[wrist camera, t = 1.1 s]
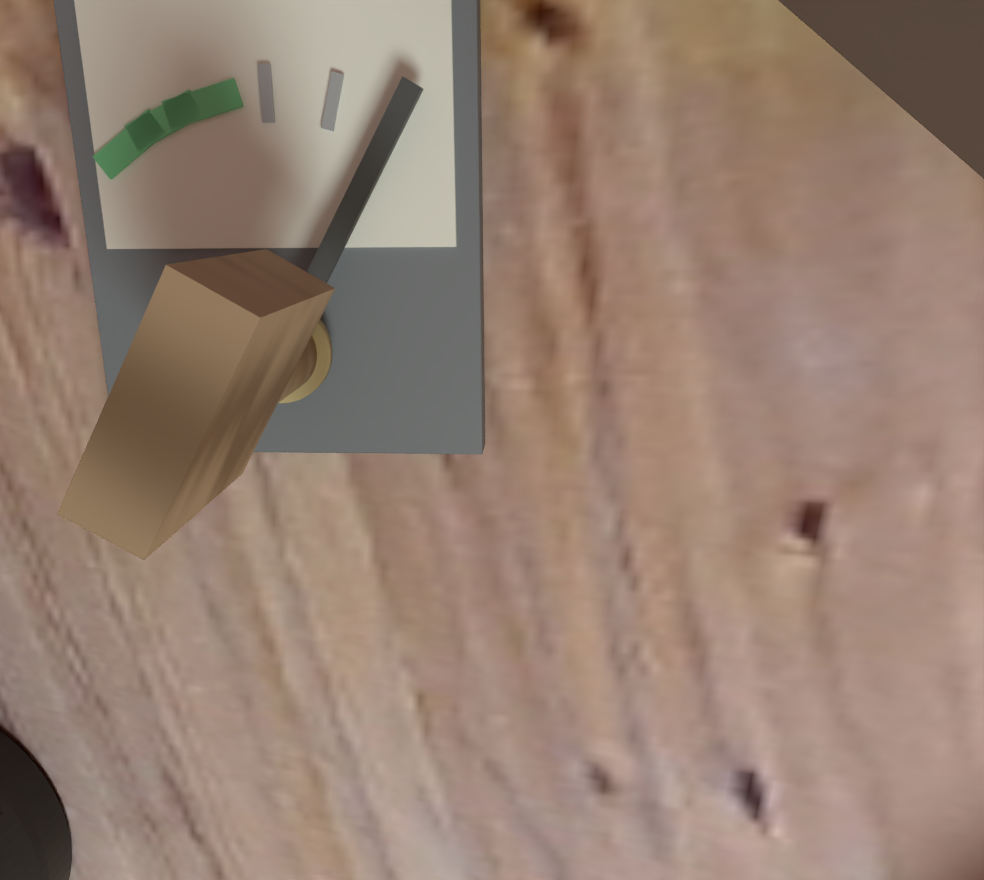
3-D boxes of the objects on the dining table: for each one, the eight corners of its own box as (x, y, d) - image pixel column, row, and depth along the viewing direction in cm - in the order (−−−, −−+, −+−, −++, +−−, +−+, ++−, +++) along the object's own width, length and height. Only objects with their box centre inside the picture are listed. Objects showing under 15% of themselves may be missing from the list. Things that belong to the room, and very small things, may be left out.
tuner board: (134, 440, 33) (111, 453, 31) (63, -105, 28) (30, -126, 26) (485, 443, 32) (481, 456, 30) (478, -119, 27) (473, -142, 25)
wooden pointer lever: (285, 456, 30) (165, 571, 21) (197, 407, 30) (34, 502, 21) (462, 112, 27) (416, 61, 17) (365, 54, 27) (262, -32, 17)
